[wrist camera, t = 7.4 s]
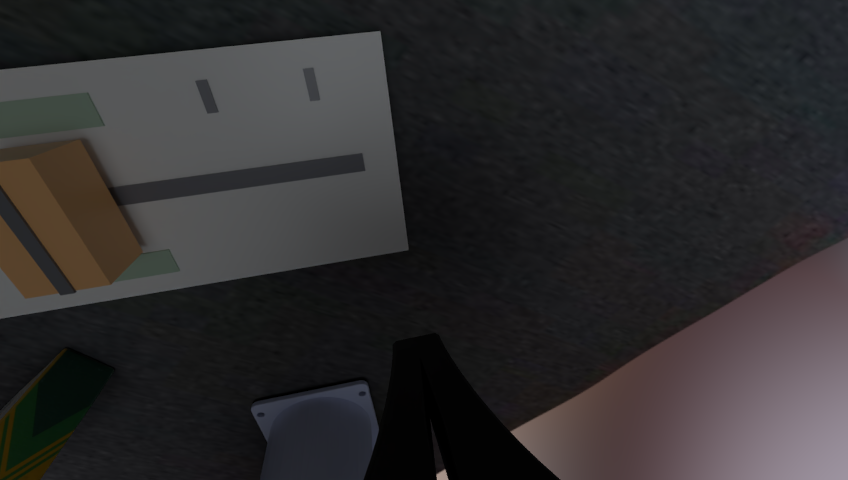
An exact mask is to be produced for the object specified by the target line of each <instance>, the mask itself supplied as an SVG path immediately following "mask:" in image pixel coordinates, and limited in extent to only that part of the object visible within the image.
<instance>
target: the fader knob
mask: <svg viewBox="0 0 848 480" xmlns="http://www.w3.org/2000/svg"><path fill="white" fill-rule="evenodd" d="M142 253H143V251H142V249H141V247H140V245H139V243H138V242H137V240H136V238H135V236H134V235H133V233H132V231H131V229H130V227H129V226H128V224H127V222H126V220H125V219H124V217H123V215H122V213H121V211H120V210H119V208H118V206H117V204H116V203H115V201H114V199H113V197H112V195H111V194H110V192H109V190H108V188H107V187H106V185H105V183H104V181H103V179H102V178H101V176H100V174H99V172H98V171H97V169H96V167H95V165H94V163H93V162H92V160H91V158H90V156H89V155H88V153H87V151H86V149H85V147H84V146H83V144H82V142H81V140H80V139H77V140H69V141H61V142H53V143H45V144H36V145H28V146H20V147H12V148H4V149H0V268H1V269H2V271H3V272H4V273H5V274H6V276H7V277H8V278H9V279H10V280H11V282H12V283H13V284H14V285H15V287H16V288H17V289H18V290H19V291H20V293H21V294H22V295H23V296H24V298H25V299H27V298H33V297H40V296H46V295H52V294H58V293H59V294H60V295H67V294H73V293H76V292H77V291H76V290H82V289H88V288H95V287H101V286H107V285H111V284H112V283H113V282H114V281H115V280H116V279H117V278H118V277H119V276H120V275H121V274H122V273H123V272H124V271H125V270H126V269H127V268H128V267H129V266H130V265H131V264H132V263H133V262H134V261H135V260H136V259H137V258H138V257H139V256H140V255H141V254H142Z"/></svg>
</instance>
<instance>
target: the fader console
mask: <svg viewBox="0 0 848 480" xmlns="http://www.w3.org/2000/svg"><path fill="white" fill-rule="evenodd" d="M77 139H80V140H81V142H82V144H83V146H84V147H85V149H86V151H87V153H88V155H89V156H90V158H91V160H92V162H93V163H94V165H95V167H96V169H97V171H98V172H99V174H100V176H101V178H102V179H103V181H104V183H105V185H106V187H107V188H108V190H109V192H110V194H111V195H112V197H113V199H114V201H115V203H116V204H117V206H118V208H119V210H120V211H121V213H122V215H123V217H124V219H125V220H126V222H127V224H128V226H129V227H130V229H131V231H132V233H133V235H134V236H135V238H136V240H137V242H138V243H139V245H140V247H141V249H142V251H143V253H142V254H141V255H140V256H139V257H138V258H137V259H136V260H135V261H134V262H133V263H132V264H131V265H130V266H129V267H128V268H127V269H126V270H125V271H124V272H123V273H122V274H121V275H120V276H119V277H118V278H117V279H116V280H115V281H114V282H113V283H112V284H111V285H107V286H101V287H95V288H88V289H82V290H76V291H77V292H76V293H73V294H67V295H60V294H59V293H58V294H52V295H46V296H40V297H33V298H27V299H25V298H24V296H23V295H22V294H21V293H20V291H19V290H18V289H17V288H16V287H15V285H14V284H13V283H12V282H11V280H10V279H9V278H8V277H7V276H6V274H5V273H4V272H3V271H2V269H1V268H0V319H1V318H7V317H13V316H19V315H25V314H31V313H37V312H43V311H49V310H55V309H61V308H67V307H73V306H78V305H84V304H90V303H96V302H102V301H108V300H114V299H120V298H126V297H132V296H138V295H144V294H150V293H156V292H162V291H168V290H174V289H180V288H186V287H192V286H198V285H204V284H210V283H216V282H221V281H227V280H233V279H239V278H245V277H251V276H257V275H263V274H269V273H275V272H281V271H287V270H293V269H299V268H305V267H311V266H317V265H323V264H329V263H335V262H341V261H347V260H353V259H359V258H365V257H370V256H376V255H382V254H388V253H394V252H400V251H406V250H409V248H408V240H407V233H406V225H405V217H404V210H403V202H402V194H401V186H400V179H399V171H398V163H397V156H396V148H395V140H394V132H393V125H392V117H391V109H390V102H389V94H388V86H387V78H386V71H385V63H384V55H383V48H382V40H381V32H380V31H376V32H366V33H357V34H347V35H337V36H327V37H317V38H307V39H298V40H288V41H278V42H268V43H258V44H249V45H239V46H229V47H219V48H209V49H200V50H190V51H180V52H170V53H160V54H151V55H141V56H131V57H121V58H111V59H102V60H92V61H82V62H72V63H62V64H52V65H43V66H33V67H23V68H13V69H3V70H0V149H4V148H12V147H20V146H28V145H36V144H45V143H53V142H61V141H69V140H77Z"/></svg>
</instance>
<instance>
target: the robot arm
mask: <svg viewBox="0 0 848 480" xmlns="http://www.w3.org/2000/svg"><path fill="white" fill-rule="evenodd" d="M361 391H363V392H361ZM251 412H252V414H253V416H254V418H255V420H256V421H257V423H258V425H259V427H260V429H261V431H262V433H263V435H264V437H265V439H266V441H267V448H266V453H265V457H264V462H263V467H262V472H261V477H260V480H437V477H436V468H435V459H434V450H433V442H432V433H431V424H430V419H431V422H432V426H433V429H434V432H435V436H436V439H437V442H438V446H439V449H440V452H441V456H442V459H443V463H444V466H445V469H446V472H447V476H448V479H449V480H560V479H559V478H558V477H556V476H555V475H554V474H553V473H552V472H551V471H550V470H549V469H548V468H547V467H545V466H544V465H543V464H542V463H541V462H540V461H539V460H538V459H537V458H536V457H535V456H533V454H531V453H530V451H528V450H527V449H526V448H525V447H524V446H523V445H522V444H521V443H520V442H519V441H518V440H517V439H516V438H515V436H514V435H513V434H512V433H511V432H510V431H509V430H508V429H507V428H506V427H505V426H504V425H503V424H502V423H501V422H500V420H499V419H498V418H497V417H496V416H495V415H494V414H493V412H492V411H491V410H490V409H489V408H488V407H487V405H486V404H485V403H484V402H483V401H482V399H481V398H480V397H479V396H478V394H477V393H476V392H475V391H474V389H473V388H472V387H471V385H470V384H469V383H468V381H467V380H466V379H465V377H464V376H463V375H462V373H461V372H460V370H459V369H458V367H457V366H456V364H455V363H454V361H453V360H452V358H451V357H450V355H449V353H448V352H447V350H446V348H445V347H444V345H443V343H442V341H441V339H440V337H439V335H438V334H436V333H433V334H428V335H424V336H419V337H414V338H409V339H405V340H400V341H396V342H395V343H394V344H393V360H392V370H391V377H390V383H389V388H388V394H387V399H386V404H385V408H384V413H383V416H382V420H381V424H380V428H379V426H378V422H377V418H376V414H375V410H374V406H373V402H372V398H371V394H370V390H369V386H368V383H367V382H366V381H364V380H359V381H354V382H349V383H344V384H339V385H334V386H330V387H325V388H320V389H315V390H310V391H305V392H300V393H295V394H290V395H285V396H280V397H276V398H271V399H266V400H261V401H257V402H254V403H253V404H252V407H251Z"/></svg>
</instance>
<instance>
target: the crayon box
mask: <svg viewBox="0 0 848 480" xmlns="http://www.w3.org/2000/svg"><path fill="white" fill-rule="evenodd" d="M113 372H114V369H113V368H112V367H109V366H107V365H105V364H102V363H100V362H98V361H96V360H93V359H91V358H89V357H87V356H84V355H82V354H80V353H78V352H75V351H73V350H71V349H69V348H65V349H63V350H62V351H61V352H60V353H59V354H58V355H57V356H56V357H55V358H54V359H53V360H52V361H51V362H50V363H49V364H48V365H47V366H46V367H45V368H44V369H43V370H42V371H41V372H40V373H39V374H38V375H37V376H36V377H34V378H33V379H32V380H31V381H30V382H29V383H28V384H27V385H26V386H25V387H24V388H23V389H22V390H21V391H20V392H19V393H17V394H16V395H15V396H14V397H13V398H12V399H11V400H10V401H9V402H8V403H7V404H6V405H5V406H4V407H3V408H2V409H1V410H0V480H40V479H41V478H42V476H43V475H44V473H45V472H46V470H47V469H48V467H49V466H50V465H51V463H52V462H53V460H54V459H55V457H56V456H57V454H58V453H59V451H60V450H61V449H62V447H63V446H64V445H65V443H66V442H67V440H68V439H69V437H70V436H71V434H72V433H73V431H74V430H75V428H76V427H77V425H78V424H79V423H80V421H81V420H82V418H83V417H84V415H85V414H86V412H87V411H88V410H89V408H90V407H91V405H92V404H93V402H94V401H95V399H96V398H97V396H98V395H99V393H100V392H101V390H102V389H103V387H104V385H105V384H106V383H107V381H108V380H109V378H110V377H111V375H112V374H113Z"/></svg>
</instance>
